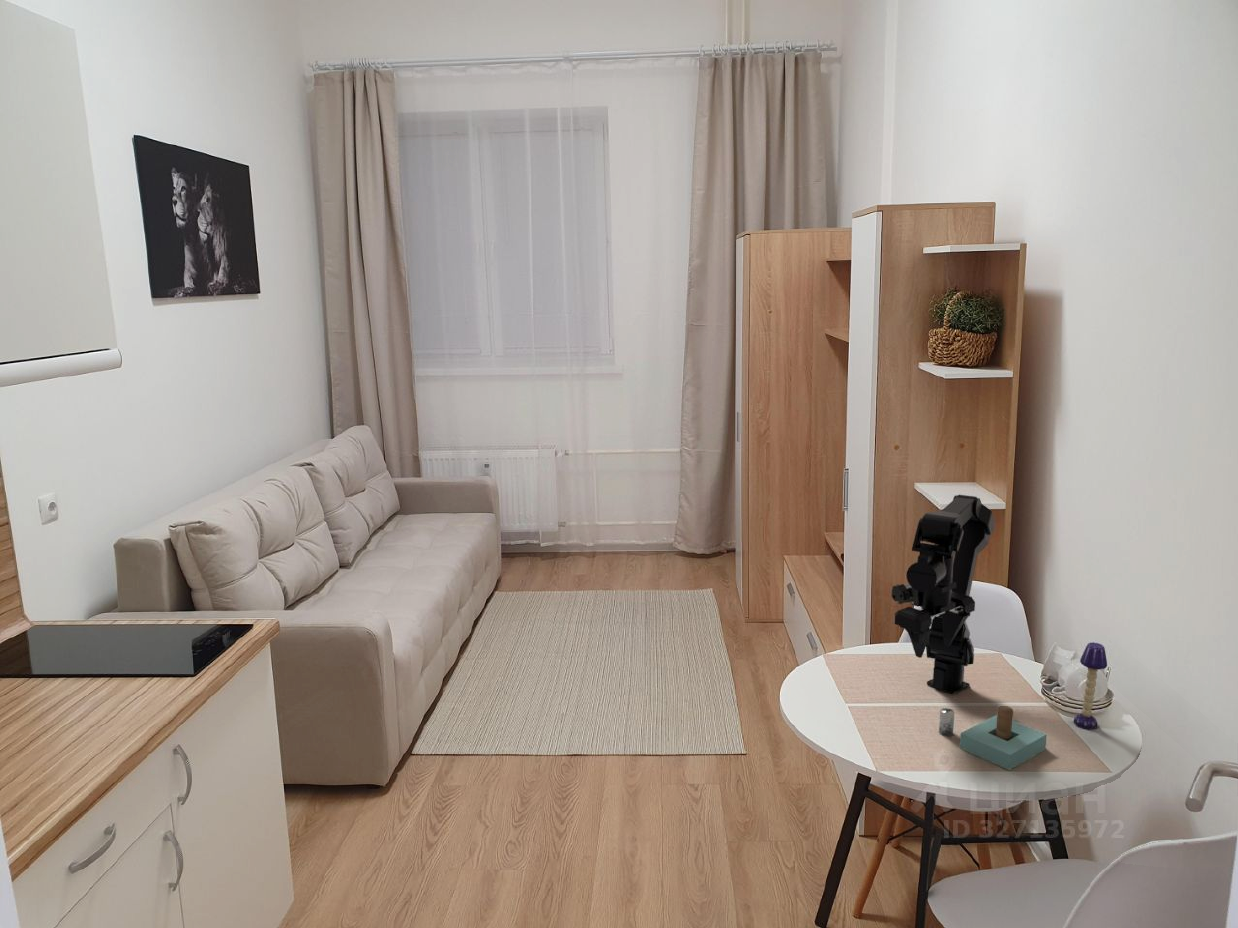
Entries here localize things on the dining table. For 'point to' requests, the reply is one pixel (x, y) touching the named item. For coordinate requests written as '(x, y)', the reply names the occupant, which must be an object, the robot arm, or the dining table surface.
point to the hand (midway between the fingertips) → (932, 651)
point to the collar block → (1003, 743)
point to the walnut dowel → (1004, 722)
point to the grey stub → (946, 722)
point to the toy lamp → (1090, 682)
